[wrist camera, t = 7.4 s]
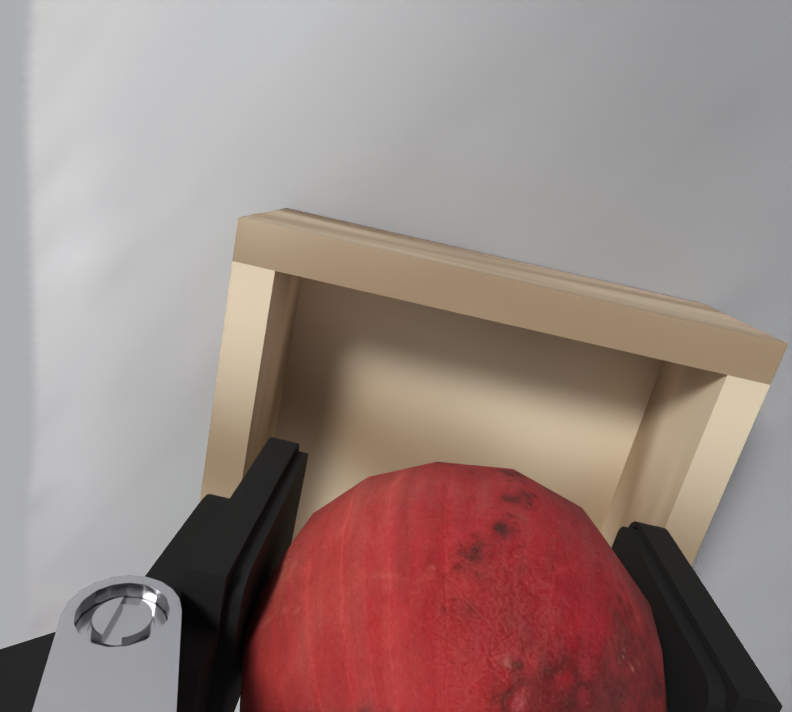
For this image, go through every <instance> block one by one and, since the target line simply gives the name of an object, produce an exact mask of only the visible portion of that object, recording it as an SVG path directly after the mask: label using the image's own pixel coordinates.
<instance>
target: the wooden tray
mask: <svg viewBox="0 0 792 712" xmlns="http://www.w3.org/2000/svg"><path fill="white" fill-rule="evenodd" d="M787 345H788V344H787V343H785V342H783V341H781V340H779V339H777V338H775V337H773V336H770V335H768V334H766V333H764V332H762V331H760V330H758V329H756V328H754V327H752V326H749V325H747V324H745V323H743V322H741V321H739V320H737V319H735V318H733V317H731V316H728V315H726V314H724V313H722V312H720V311H718V310H716V309H714V308H712V307H710V306H707V305H705V304H702V303H697V302H693V301H688V300H684V299H680V298H675V297H671V296H667V295H662V294H658V293H654V292H649V291H645V290H641V289H636V288H632V287H628V286H623V285H619V284H615V283H610V282H606V281H601V280H597V279H593V278H588V277H584V276H580V275H575V274H571V273H567V272H562V271H558V270H554V269H549V268H545V267H541V266H536V265H532V264H528V263H523V262H519V261H514V260H510V259H506V258H501V257H497V256H493V255H488V254H484V253H480V252H475V251H471V250H467V249H462V248H458V247H454V246H449V245H445V244H441V243H436V242H432V241H427V240H423V239H419V238H414V237H410V236H406V235H401V234H397V233H393V232H388V231H384V230H380V229H375V228H371V227H367V226H362V225H358V224H354V223H349V222H345V221H340V220H336V219H332V218H327V217H323V216H319V215H314V214H310V213H306V212H301V211H297V210H293V209H288V208H284V209H279V210H274V211H269V212H264V213H259V214H254V215H249V216H243V217H238V225H237V232H236V239H235V247H234V254H233V262H232V269H231V276H230V284H229V291H228V298H227V306H226V313H225V321H224V328H223V335H222V343H221V350H220V357H219V365H218V372H217V380H216V387H215V394H214V402H213V409H212V416H211V424H210V431H209V439H208V446H207V453H206V461H205V468H204V475H203V483H202V490H201V497H200V502H201V500H202V499H203V498H204V497H205V496H206V495H207V494H213V495H217V496H221V497H226V498H230V497H231V496H232V494H233V493H234V491H235V490H236V488H237V487H238V485H239V484H240V482H241V481H242V479H243V477H244V476H245V474H246V473H247V471H248V470H249V468H250V467H251V465H252V464H253V462H254V461H255V459H256V458H257V456H258V455H259V453H260V452H261V450H262V449H263V447H264V445H265V444H266V442H267V441H268V439H269V438H270V437H273V438H278V439H282V440H286V441H291V442H295V443H299V451H300V452H305V453H308V460H307V465H306V470H305V476H304V481H303V486H302V491H301V496H300V501H299V507H298V512H297V517H296V522H295V527H294V532H293V538H292V542H293V540H294V539H295V538H296V536H297V535H298V533H299V532H300V531H301V529H302V528H303V527H304V525H305V524H306V522H307V521H308V520H309V518H310V517H311V515H312V514H313V513H314V512H316V511H317V510H319V509H320V508H322V507H323V506H325V505H326V504H328V503H329V502H331V501H332V500H334V499H335V498H337V497H339V496H340V495H342V494H343V493H345V492H346V491H348V490H349V489H351V488H352V487H354V486H355V485H357V484H358V483H360V482H361V481H363V480H364V479H366V478H367V477H370V476H374V475H379V474H383V473H388V472H392V471H397V470H402V469H406V468H411V467H415V466H420V465H424V464H429V463H433V462H447V463H457V464H467V465H478V466H488V467H499V468H509V469H514V470H516V471H518V472H520V473H521V474H523V475H525V476H527V477H528V478H530V479H532V480H534V481H536V482H537V483H539V484H541V485H543V486H544V487H546V488H548V489H550V490H552V491H553V492H555V493H557V494H559V495H560V496H562V497H564V498H566V499H568V500H569V501H571V502H573V503H575V504H576V505H578V506H580V507H582V508H583V510H584V511H585V512H586V514H587V515H588V516H589V518H590V519H591V520H592V522H593V523H594V524H595V526H596V527H597V528H598V530H599V531H600V532H601V534H602V535H603V537H604V538H605V540H606V541H607V542H608V544H609V545H610V547H611V548H612V545H613V543H614V540H615V537H616V535H617V533H618V530H619V529H620V528H621V527H623V526H624V527H628V526H629V525H630V524H631V523H632V522H634V521H636V522H641V523H645V524H649V525H653V526H658V527H662V528H666V529H667V530H668V531H669V533H670V534H671V536H672V538H673V539H674V541H675V542H676V544H677V545H678V547H679V548H680V550H681V551H682V553H683V554H684V556H685V557H686V559H687V561H688V562H689V564H690V565H691V566H692V564H693V561H694V559H695V557H696V555H697V552H698V550H699V548H700V545H701V543H702V541H703V538H704V536H705V534H706V532H707V529H708V527H709V525H710V522H711V520H712V518H713V515H714V513H715V511H716V509H717V506H718V504H719V502H720V499H721V497H722V495H723V492H724V490H725V488H726V486H727V483H728V481H729V479H730V476H731V474H732V472H733V469H734V467H735V465H736V463H737V460H738V458H739V456H740V453H741V451H742V449H743V446H744V444H745V442H746V440H747V437H748V435H749V433H750V430H751V428H752V426H753V424H754V421H755V419H756V417H757V414H758V412H759V410H760V407H761V405H762V403H763V401H764V398H765V396H766V394H767V391H768V389H769V387H770V384H771V382H772V380H773V378H774V375H775V373H776V371H777V368H778V366H779V364H780V361H781V359H782V357H783V355H784V352H785V350H786V348H787ZM291 544H292V543H291Z"/></svg>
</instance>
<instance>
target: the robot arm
mask: <svg viewBox="0 0 792 712" xmlns="http://www.w3.org/2000/svg"><path fill="white" fill-rule="evenodd" d="M307 460H308V453H305V452H300V451H299V443H295V442H291V441H286V440H282V439H278V438H273V437H270V438H269V439H268V441H267V442H266V444H265V445H264V447H263V449H262V450H261V452H260V453H259V455H258V456H257V458H256V459H255V461H254V462H253V464H252V465H251V467H250V468H249V470H248V471H247V473H246V474H245V476H244V477H243V479H242V481H241V482H240V484H239V485H238V487H237V488H236V490H235V491H234V493H233V494H232V496H231V497H230V498H226V497H221V496H217V495H213V494H207V495H206V496H205V497H204V498H203V499H202V500H201V502H200V503H199V504H198V506H197V507H196V508H195V510H194V511H193V512H192V514H191V515H190V516H189V518H188V519H187V520H186V522H185V523H184V524H183V526H182V527H181V529H180V530H179V531H178V533H177V534H176V535H175V537H174V538H173V539H172V541H171V542H170V543H169V545H168V546H167V547H166V549H165V550H164V551H163V553H162V554H161V556H160V557H159V558H158V560H157V561H156V562H155V564H154V565H153V566H152V568H151V569H150V570H149V572H148V573H147V574H146V576H145V577H144V576H132V575H128V576H119V577H111V578H108V579H105V580H102V581H99V582H95V583H93V584H92V585H90V586H88V587H86V588H84V589H82V590H81V591H79V592H78V593H77V594H76V595H75V596H74V597H73V598H72V599H71V600H70V601H68V603H67V605H66V606H65V608H64V610H63V612H62V614H61V616H60V620H59V623H58V626H57V630H56V632H54V633H51V634H48V635H44V636H41V637H38V638H35V639H32V640H29V641H25V642H22V643H19V644H16V645H13V646H10V647H6V648H3V649H0V712H234V710H235V708H236V705H237V703H238V700H239V697H240V695H241V677H242V657H243V640H244V636H245V633H246V629H247V626H248V623H249V621H250V618H251V615H252V613H253V610H254V607H255V605H256V602H257V599H258V597H259V594H260V591H261V590H262V588H263V586H264V585H265V583H266V582H267V580H268V579H269V577H270V576H271V574H272V573H273V571H274V570H275V568H276V567H277V565H278V563H279V562H280V560H281V559H282V557H283V556H284V554H285V553H286V551H287V550H288V548H289V547H290V545H291V543H292V538H293V532H294V527H295V522H296V517H297V512H298V507H299V501H300V496H301V491H302V486H303V481H304V476H305V470H306V465H307ZM612 550H613V551H614V553H615V554H616V556H617V557H618V558H619V560H620V561H621V563H622V564H623V566H624V567H625V569H626V570H627V572H628V573H629V574H630V576H631V577H632V579H633V580H634V582H635V583H636V585H637V586H638V588H639V589H640V590H641V592H642V593H643V595H644V596H645V598H646V599H647V601H648V602H649V604H650V606H651V610H652V613H653V617H654V621H655V625H656V629H657V633H658V637H659V641H660V644H661V648H662V654H663V665H664V676H665V687H666V698H667V709H668V712H780V710H781V708H782V705H781V703H780V702H779V700H778V699H777V697H776V696H775V694H774V693H773V691H772V690H771V688H770V686H769V685H768V683H767V682H766V680H765V679H764V677H763V676H762V674H761V673H760V671H759V670H758V668H757V666H756V665H755V663H754V662H753V660H752V659H751V657H750V656H749V654H748V653H747V651H746V650H745V648H744V647H743V645H742V643H741V642H740V640H739V639H738V637H737V636H736V634H735V633H734V631H733V630H732V628H731V627H730V625H729V624H728V622H727V620H726V619H725V617H724V616H723V614H722V613H721V611H720V610H719V608H718V607H717V605H716V604H715V602H714V600H713V599H712V597H711V596H710V594H709V593H708V591H707V590H706V588H705V587H704V585H703V584H702V582H701V581H700V579H699V577H698V576H697V574H696V573H695V571H694V570H693V568H692V567H691V565H690V564H689V562H688V561H687V559H686V557H685V556H684V554H683V553H682V551H681V550H680V548H679V547H678V545H677V544H676V542H675V541H674V539H673V538H672V536H671V534H670V533H669V531H668V530H667V529H666V528H662V527H658V526H653V525H649V524H645V523H641V522H636V521H634V522H632V523H631V524H630V525H629V526H628V527H624V526H623V527H621V528H620V529H619V530H618V533H617V535H616V537H615V540H614V543H613V545H612Z"/></svg>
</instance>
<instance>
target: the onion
mask: <svg viewBox="0 0 792 712" xmlns="http://www.w3.org/2000/svg"><path fill="white" fill-rule="evenodd" d="M240 712H668V709H667V698H666V687H665V676H664V665H663V654H662V648H661V644H660V641H659V637H658V633H657V629H656V625H655V621H654V617H653V613H652V610H651V606H650V604H649V602H648V601H647V599H646V598H645V596H644V595H643V593H642V592H641V590H640V589H639V588H638V586H637V585H636V583H635V582H634V580H633V579H632V577H631V576H630V574H629V573H628V572H627V570H626V569H625V567H624V566H623V564H622V563H621V561H620V560H619V558H618V557H617V556H616V554H615V553H614V551H613V550H612V548H611V547H610V545H609V544H608V542H607V541H606V540H605V538H604V537H603V535H602V534H601V532H600V531H599V530H598V528H597V527H596V526H595V524H594V523H593V522H592V520H591V519H590V518H589V516H588V515H587V514H586V512H585V511H584V510H583V508H582V507H580V506H578V505H576V504H575V503H573V502H571V501H569V500H568V499H566V498H564V497H562V496H560V495H559V494H557V493H555V492H553V491H552V490H550V489H548V488H546V487H544V486H543V485H541V484H539V483H537V482H536V481H534V480H532V479H530V478H528V477H527V476H525V475H523V474H521V473H520V472H518V471H516V470H514V469H509V468H499V467H488V466H478V465H467V464H457V463H447V462H433V463H429V464H424V465H420V466H415V467H411V468H406V469H402V470H397V471H392V472H388V473H383V474H379V475H374V476H370V477H367V478H366V479H364V480H363V481H361V482H360V483H358V484H357V485H355V486H354V487H352V488H351V489H349V490H348V491H346V492H345V493H343V494H342V495H340V496H339V497H337V498H335V499H334V500H332V501H331V502H329V503H328V504H326V505H325V506H323V507H322V508H320V509H319V510H317V511H316V512H314V513H313V514H312V515H311V517H310V518H309V520H308V521H307V522H306V524H305V525H304V527H303V528H302V529H301V531H300V532H299V533H298V535H297V536H296V538H295V539H294V540H293V542H292V544H291V545H290V547H289V548H288V550H287V551H286V553H285V554H284V556H283V557H282V559H281V560H280V562H279V563H278V565H277V567H276V568H275V570H274V571H273V573H272V574H271V576H270V577H269V579H268V580H267V582H266V583H265V585H264V586H263V588H262V590H261V591H260V594H259V597H258V599H257V602H256V605H255V607H254V610H253V613H252V615H251V618H250V621H249V623H248V626H247V629H246V633H245V636H244V640H243V657H242V677H241V696H240Z"/></svg>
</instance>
